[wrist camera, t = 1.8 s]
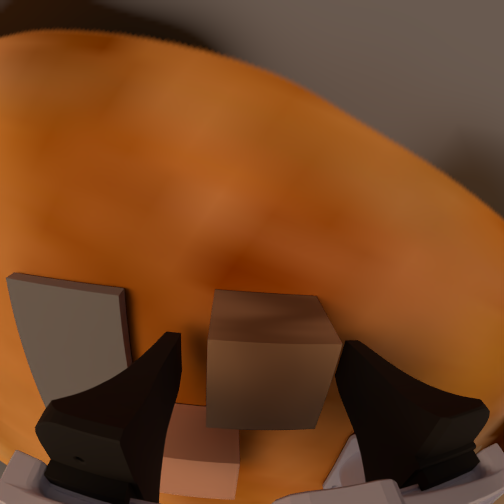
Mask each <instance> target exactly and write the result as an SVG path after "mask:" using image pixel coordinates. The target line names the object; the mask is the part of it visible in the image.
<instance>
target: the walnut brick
mask: <svg viewBox="0 0 504 504" xmlns="http://www.w3.org/2000/svg"><path fill="white" fill-rule="evenodd" d="M342 345H343V344H342V342H341V340H340V339H339V337H338V335H337V333H336V331H335V329H334V327H333V326H332V324H331V322H330V320H329V318H328V316H327V315H326V313H325V311H324V309H323V307H322V306H321V304H320V302H319V300H318V298H317V297H316V296H307V295H288V294H272V293H256V292H242V291H229V290H216V289H215V293H214V300H213V306H212V313H211V320H210V327H209V334H208V346H207V387H206V427H207V428H221V429H240V430H297V429H315V426H316V424H317V421H318V418H319V415H320V413H321V410H322V407H323V404H324V401H325V399H326V396H327V393H328V390H329V387H330V384H331V381H332V377H333V374H334V371H335V368H336V365H337V361H338V358H339V355H340V351H341V348H342Z"/></svg>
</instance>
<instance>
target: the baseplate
mask: <svg viewBox="0 0 504 504" xmlns="http://www.w3.org/2000/svg"><path fill="white" fill-rule="evenodd" d="M6 280H7V286H8V291H9V295H10V300H11V304H12V309H13V313H14V317H15V321H16V325H17V328H18V332H19V335H20V339H21V342H22V345H23V349H24V352H25V355H26V358H27V361H28V364H29V366H30V369H31V372H32V375H33V377H34V380H35V383H36V385H37V388H38V390H39V393H40V395H41V398H42V400H43V402H44V404H45V407H47V406H48V405H49V403H50V402H51V400H55V399H59V398H63V397H67V396H71V395H74V394H77V393H80V392H83V391H86V390H88V389H90V388H93V387H95V386H97V385H99V384H101V383H103V382H105V381H107V380H109V379H111V378H113V377H114V376H116V375H117V374H119V373H121V372H122V371H124V370H125V369H126V368H128V367H129V366H130V365H131V364H132V357H131V350H130V342H129V334H128V325H127V315H126V304H125V291H124V288H118V287H110V286H102V285H94V284H87V283H79V282H72V281H65V280H58V279H52V278H45V277H39V276H32V275H26V274H20V273H13V274H11V275H10V276H8V277H7V278H6Z"/></svg>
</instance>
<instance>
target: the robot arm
mask: <svg viewBox="0 0 504 504" xmlns="http://www.w3.org/2000/svg"><path fill="white" fill-rule="evenodd" d="M181 372H182V361H181V333H175V332H166V333H164V334H163V335H162V337H161V338H160V339H159V340H158V341H157V342H156V343H155V344H154V345H153V346H152V347H151V348H150V349H149V350H148V351H146V352H145V353H144V354H143V355H142V356H141V357H140V358H139V359H138V360H136V361H135V362H134V363H133V364H131V365H130V366H129V367H128V368H126V369H125V370H124V371H122V372H121V373H119V374H117V375H116V376H114V377H113V378H111V379H109V380H107V381H105V382H103V383H101V384H99V385H97V386H95V387H93V388H90V389H88V390H86V391H83V392H80V393H77V394H74V395H71V396H67V397H63V398H59V399H55V400H51V402H50V403H49V405H48V406H47V407H46V409H45V411H44V412H43V414H42V416H41V418H40V419H39V421H38V423H37V425H36V426H35V432H36V434H37V437H38V439H39V441H40V443H41V444H42V446H43V447H44V449H45V451H46V452H47V454H48V455H49V457H50V459H51V460H50V462H49V464H48V466H47V465H46V464H45V463H44V462H42V461H41V460H39V459H37V458H34V457H32V456H30V455H28V454H25V453H23V452H21V451H19V450H15V452H14V454H13V456H12V458H11V460H10V461H9V463H8V465H7V467H6V469H5V471H4V473H3V475H2V477H1V479H0V504H159V492H160V480H161V470H162V462H163V454H164V447H165V440H166V434H167V430H168V426H169V422H170V419H171V415H172V412H173V408H174V405H175V401H176V398H177V394H178V391H179V386H180V379H181ZM335 378H336V382H337V387H338V391H339V394H340V397H341V399H342V402H343V404H344V407H345V409H346V412H347V414H348V417H349V419H350V421H351V424H352V426H353V429H354V432H355V434H354V435H352V436H350V438H349V439H348V441H347V443H346V445H345V447H344V448H343V450H342V452H341V454H340V456H339V458H338V459H337V461H336V463H335V465H334V467H333V468H332V470H331V472H330V474H329V475H328V477H327V479H326V480H325V482H324V484H323V490H314V491H306V492H301V493H295V494H290V495H287V496H285V497H282V498H279V499H277V500H275V501H274V502H273V503H272V504H492V503H494V502H495V501H496V500H497V499H498V498H499V497H500V496H501V495H502V494H504V453H503V451H502V450H501V448H500V447H499V446H498V444H497V443H495V444H493V445H491V446H489V447H487V448H485V449H483V450H481V451H480V452H479V453H477V454H475V452H474V451H473V450H474V449H475V448H476V445H475V443H474V442H473V441H474V439H475V438H476V437H477V435H478V434H479V433H480V431H481V430H482V429H483V427H484V426H485V424H486V422H487V420H488V418H489V413H490V411H489V410H488V408H487V407H486V406H485V404H484V403H483V402H482V401H481V400H480V399H475V398H469V397H463V396H459V395H455V394H452V393H448V392H445V391H442V390H439V389H437V388H434V387H432V386H429V385H427V384H425V383H423V382H421V381H419V380H417V379H415V378H413V377H411V376H409V375H408V374H406V373H404V372H403V371H401V370H400V369H398V368H396V367H395V366H393V365H392V364H390V363H389V362H388V361H386V360H385V359H383V358H382V357H381V356H379V355H378V354H377V353H375V352H374V351H373V350H371V349H370V348H368V347H367V346H366V345H364V344H363V343H361V342H360V341H358V340H350V341H345V344H344V347H343V351H342V354H341V357H340V361H339V364H338V367H337V370H336V373H335Z"/></svg>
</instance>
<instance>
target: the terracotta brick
mask: <svg viewBox="0 0 504 504" xmlns="http://www.w3.org/2000/svg"><path fill="white" fill-rule="evenodd" d="M239 466H240V453H239V429H221V428H207V427H206V407H205V406H194V405H185V404H176V403H175V405H174V408H173V412H172V415H171V419H170V422H169V426H168V430H167V434H166V440H165V447H164V454H163V462H162V470H161V480H160V492H162V493H168V494H175V495H183V496H191V497H201V498H214V499H235V492H236V486H237V479H238V472H239Z"/></svg>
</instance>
